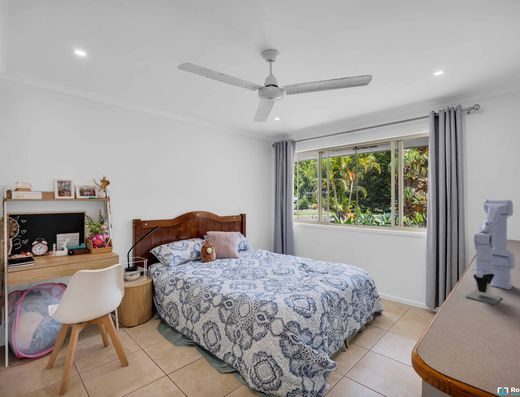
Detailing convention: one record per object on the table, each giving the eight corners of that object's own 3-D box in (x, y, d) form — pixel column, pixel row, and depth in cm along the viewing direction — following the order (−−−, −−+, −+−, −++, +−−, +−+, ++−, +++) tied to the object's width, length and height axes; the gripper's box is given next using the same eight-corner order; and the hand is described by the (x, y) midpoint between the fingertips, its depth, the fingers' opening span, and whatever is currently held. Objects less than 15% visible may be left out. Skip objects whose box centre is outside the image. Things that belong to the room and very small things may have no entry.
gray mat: (474, 291, 127) (474, 290, 127) (502, 298, 119) (502, 296, 119) (465, 297, 120) (465, 296, 120) (494, 304, 112) (494, 303, 112)
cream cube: (478, 291, 123) (479, 281, 123) (491, 294, 119) (491, 284, 119) (475, 293, 120) (475, 283, 120) (488, 296, 117) (489, 286, 116)
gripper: (477, 256, 127) (477, 285, 127) (467, 260, 118) (467, 291, 118) (497, 259, 122) (497, 289, 122) (488, 263, 113) (488, 296, 113)
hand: (483, 290), depth 120 cm, fingers closed on cream cube, 4 cm apart
